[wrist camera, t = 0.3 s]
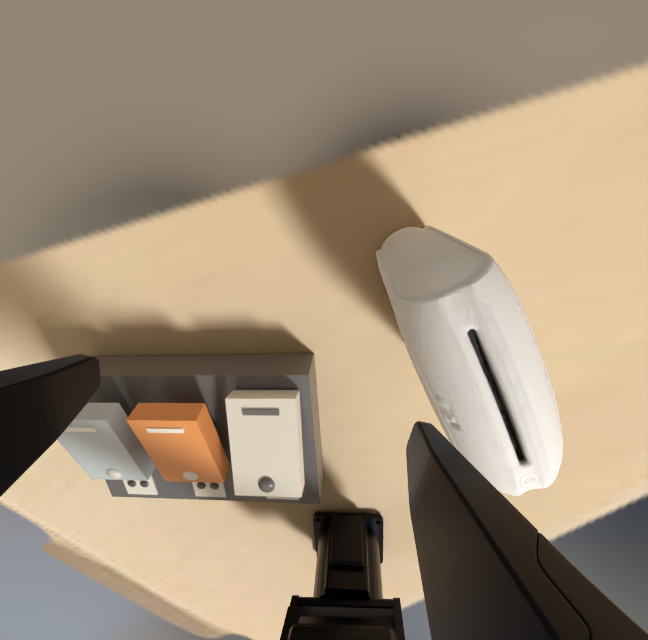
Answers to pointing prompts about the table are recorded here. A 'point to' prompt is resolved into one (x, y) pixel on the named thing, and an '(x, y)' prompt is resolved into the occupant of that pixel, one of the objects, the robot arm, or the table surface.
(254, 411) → the ivory rocker
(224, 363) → the power strip
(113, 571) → the table surface
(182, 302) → the table surface
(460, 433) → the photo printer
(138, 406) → the orange box with knob
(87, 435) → the grey-blue rocker
